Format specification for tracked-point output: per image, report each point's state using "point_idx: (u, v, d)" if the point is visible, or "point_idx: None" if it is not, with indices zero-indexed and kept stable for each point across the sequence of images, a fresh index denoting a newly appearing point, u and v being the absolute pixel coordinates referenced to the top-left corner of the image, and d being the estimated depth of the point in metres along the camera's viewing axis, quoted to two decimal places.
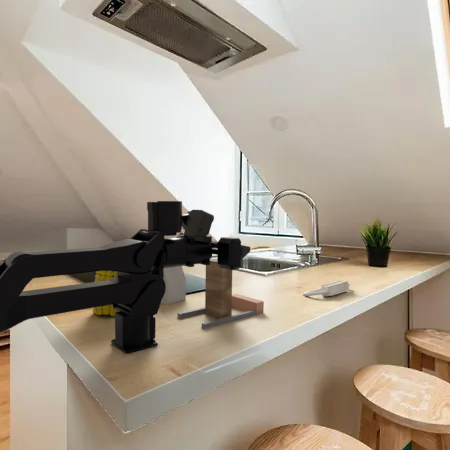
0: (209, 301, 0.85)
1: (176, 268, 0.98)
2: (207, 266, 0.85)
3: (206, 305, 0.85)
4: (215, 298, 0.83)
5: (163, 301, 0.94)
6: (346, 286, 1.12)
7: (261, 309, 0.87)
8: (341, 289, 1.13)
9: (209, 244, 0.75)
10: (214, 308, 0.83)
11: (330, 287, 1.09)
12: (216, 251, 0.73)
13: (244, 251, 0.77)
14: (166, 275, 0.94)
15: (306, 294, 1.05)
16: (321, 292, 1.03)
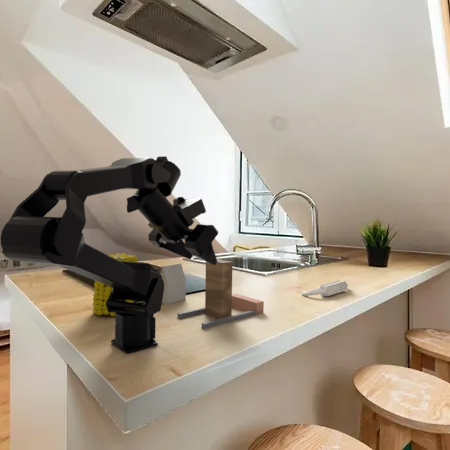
0: (209, 301, 0.85)
1: (176, 268, 0.98)
2: (207, 266, 0.85)
3: (206, 305, 0.85)
4: (215, 298, 0.83)
5: (163, 301, 0.94)
6: (344, 286, 1.13)
7: (261, 309, 0.87)
8: (339, 289, 1.13)
9: (187, 227, 0.74)
10: (214, 308, 0.83)
11: (328, 287, 1.09)
12: (190, 233, 0.72)
13: (211, 257, 0.75)
14: (166, 275, 0.94)
15: (305, 294, 1.05)
16: (320, 292, 1.03)
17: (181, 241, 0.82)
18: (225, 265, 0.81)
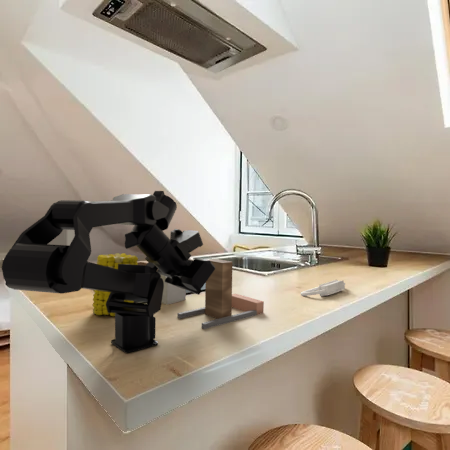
0: (209, 301, 0.85)
1: None
2: None
3: (206, 305, 0.85)
4: (215, 298, 0.83)
5: (163, 301, 0.94)
6: (342, 285, 1.13)
7: (261, 309, 0.87)
8: (337, 288, 1.14)
9: (184, 261, 0.74)
10: (214, 308, 0.83)
11: (327, 286, 1.09)
12: (187, 267, 0.73)
13: None
14: None
15: (304, 294, 1.05)
16: (319, 291, 1.03)
17: None
18: (225, 265, 0.81)
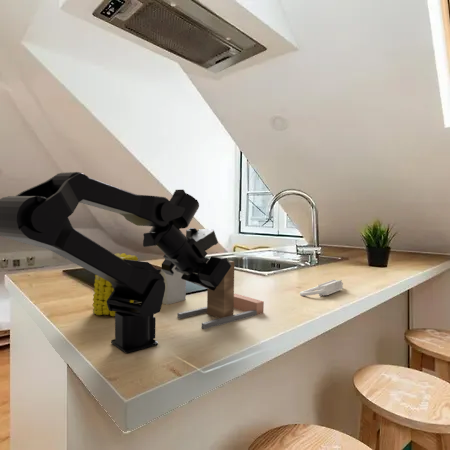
0: (211, 301, 0.85)
1: None
2: None
3: (208, 305, 0.86)
4: (217, 297, 0.83)
5: (163, 301, 0.94)
6: (340, 285, 1.14)
7: (261, 309, 0.87)
8: (335, 288, 1.14)
9: (201, 258, 0.77)
10: (216, 308, 0.84)
11: (325, 286, 1.10)
12: (204, 265, 0.76)
13: None
14: (166, 275, 0.94)
15: (303, 294, 1.05)
16: (318, 291, 1.04)
17: None
18: None
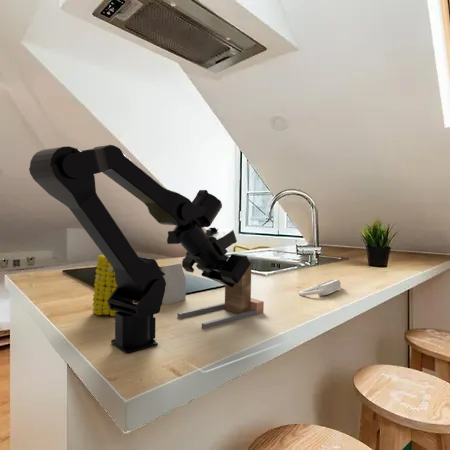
0: (229, 297, 0.89)
1: (176, 268, 0.98)
2: None
3: (226, 301, 0.90)
4: (235, 293, 0.87)
5: (163, 301, 0.94)
6: (338, 284, 1.14)
7: (261, 309, 0.87)
8: (333, 287, 1.15)
9: (221, 256, 0.81)
10: (234, 304, 0.87)
11: (324, 286, 1.10)
12: (224, 262, 0.79)
13: None
14: (166, 275, 0.94)
15: (303, 294, 1.05)
16: (318, 291, 1.04)
17: None
18: None
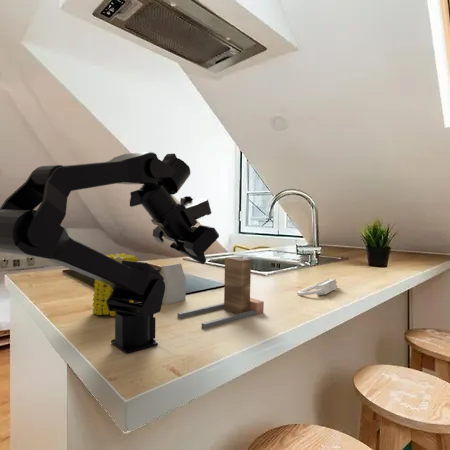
0: (228, 297, 0.89)
1: (176, 268, 0.98)
2: (226, 264, 0.89)
3: (225, 301, 0.89)
4: (234, 294, 0.87)
5: (163, 301, 0.94)
6: (334, 284, 1.15)
7: (261, 309, 0.87)
8: (329, 287, 1.15)
9: (190, 227, 0.73)
10: (233, 304, 0.87)
11: None
12: (191, 233, 0.71)
13: (199, 255, 0.77)
14: (166, 275, 0.94)
15: (302, 294, 1.05)
16: (317, 291, 1.04)
17: None
18: (244, 262, 0.85)
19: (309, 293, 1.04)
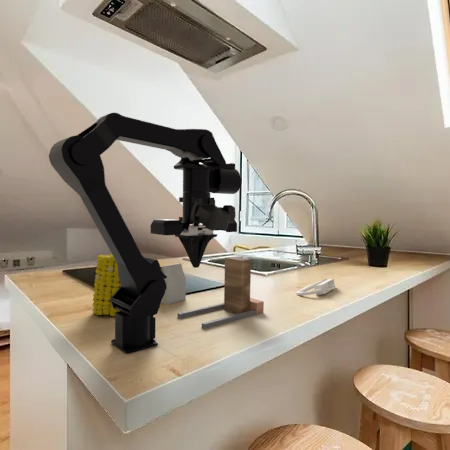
0: (228, 297, 0.89)
1: (176, 268, 0.98)
2: (226, 264, 0.89)
3: (225, 301, 0.89)
4: (234, 294, 0.87)
5: (163, 301, 0.94)
6: (332, 283, 1.16)
7: (261, 309, 0.87)
8: (327, 287, 1.16)
9: None
10: (233, 304, 0.87)
11: None
12: None
13: (190, 255, 0.75)
14: (166, 275, 0.94)
15: (301, 293, 1.05)
16: (316, 291, 1.04)
17: (200, 245, 0.75)
18: (244, 262, 0.85)
19: (308, 293, 1.04)
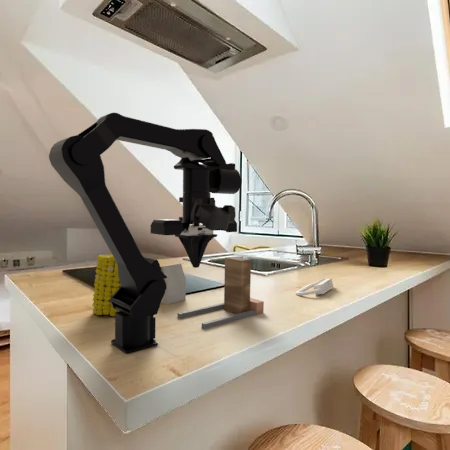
0: (228, 297, 0.89)
1: (176, 268, 0.98)
2: (226, 264, 0.89)
3: (225, 301, 0.89)
4: (234, 294, 0.87)
5: (163, 301, 0.94)
6: (330, 283, 1.16)
7: (261, 309, 0.87)
8: (325, 286, 1.16)
9: (190, 221, 0.73)
10: (233, 304, 0.87)
11: None
12: None
13: (190, 255, 0.75)
14: (166, 275, 0.94)
15: (300, 294, 1.05)
16: (316, 291, 1.04)
17: (200, 245, 0.75)
18: (244, 262, 0.85)
19: (308, 293, 1.04)
